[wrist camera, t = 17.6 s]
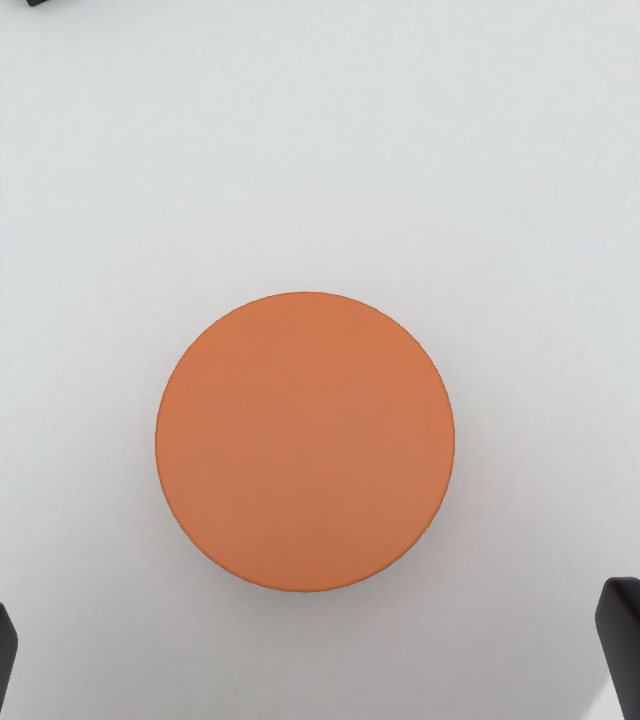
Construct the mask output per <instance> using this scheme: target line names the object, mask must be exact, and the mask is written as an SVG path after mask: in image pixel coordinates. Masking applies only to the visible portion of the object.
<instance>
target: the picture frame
mask: <svg viewBox="0 0 640 720" xmlns="http://www.w3.org/2000/svg"><path fill="white" fill-rule="evenodd" d="M41 1H43V0H27V2H28V4H29V5H30V6H32V5H34V4H36V3H38V2H41Z"/></svg>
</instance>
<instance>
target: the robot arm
mask: <svg viewBox="0 0 640 720" xmlns="http://www.w3.org/2000/svg"><path fill="white" fill-rule="evenodd" d="M595 622H596V627H597V631H598V634H599V638H600V641H601V644H602V648H603V651H604V654H605V657H606V661H607V664H608V667H609V670H610V674H611V677H612V680H613V683H614V687H615V690H616V693H617V697H618V700H619V703H620V706H621V710H622V713H623V716H624V719H625V720H640V580H639V579H637V578H635V577H612V578H609V579H608V580H607V581H606V582H605V584H604V587H603V590H602V593H601V596H600V599H599V603H598V606H597V609H596V613H595ZM17 647H18V637H17V633H16V630H15V628H14V626H13V624H12V622H11V620H10V617H9V615H8V613H7V611H6V609H5V607H4V605H3V604H2V603H1V602H0V712H1V709H2V705H3V701H4V697H5V694H6V690H7V686H8V682H9V679H10V675H11V671H12V668H13V664H14V660H15V656H16V652H17Z"/></svg>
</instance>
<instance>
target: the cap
mask: <svg viewBox="0 0 640 720" xmlns="http://www.w3.org/2000/svg"><path fill="white" fill-rule="evenodd" d="M454 453H455V429H454V421H453V414H452V409H451V405H450V402H449V398H448V394H447V391H446V389H445V386H444V384H443V382H442V379H441V377H440V375H439V373H438V371H437V369H436V368H435V366H434V364H433V362H432V360H431V359H430V357H429V356H428V355H427V353H426V352H425V351H424V349H423V348H422V347H421V345H420V344H419V343H418V342H417V341H416V340H415V339H414V338H413V337H412V336H411V335H410V334H409V333H408V332H407V331H406V330H405V329H404V328H403V327H401V326H400V325H399V324H398V323H396V322H395V321H394V320H393V319H391V318H390V317H388V316H386V315H385V314H383V313H382V312H380V311H378V310H377V309H375V308H373V307H370V306H368V305H366V304H364V303H362V302H359V301H356V300H353V299H350V298H347V297H343V296H339V295H334V294H328V293H321V292H292V293H283V294H278V295H273V296H268V297H265V298H262V299H259V300H256V301H253V302H250V303H248V304H246V305H244V306H241V307H239V308H237V309H235V310H233V311H232V312H230V313H228V314H227V315H225V316H224V317H222V318H221V319H219V320H217V321H216V322H215V323H214V324H213V325H211V326H210V327H209V328H208V329H206V330H205V331H204V332H203V333H202V334H201V335H200V336H199V337H198V338H197V339H196V340H195V341H194V342H193V344H192V345H191V346H190V347H189V348H188V350H187V351H186V352H185V354H184V355H183V356H182V358H181V359H180V361H179V362H178V364H177V366H176V367H175V369H174V371H173V373H172V375H171V376H170V378H169V381H168V383H167V386H166V388H165V391H164V393H163V396H162V399H161V403H160V407H159V411H158V415H157V423H156V432H155V456H156V463H157V470H158V475H159V479H160V482H161V486H162V490H163V493H164V496H165V498H166V500H167V502H168V505H169V507H170V509H171V512H172V513H173V515H174V517H175V518H176V520H177V522H178V523H179V525H180V527H181V528H182V530H183V531H184V532H185V533H186V535H187V536H188V537H189V538H190V540H191V541H192V542H193V543H194V545H195V546H196V547H198V548H199V549H200V550H201V551H202V552H203V553H204V554H205V555H206V556H207V557H208V558H209V559H211V560H212V561H213V562H215V563H216V564H218V565H219V566H220V567H222V568H223V569H225V570H226V571H228V572H230V573H232V574H234V575H236V576H237V577H239V578H241V579H243V580H245V581H248V582H251V583H254V584H257V585H260V586H262V587H266V588H271V589H276V590H281V591H288V592H305V593H306V592H318V591H328V590H332V589H337V588H341V587H346V586H349V585H352V584H354V583H357V582H360V581H362V580H365V579H367V578H369V577H371V576H373V575H375V574H376V573H378V572H380V571H382V570H384V569H385V568H387V567H388V566H390V565H391V564H392V563H394V562H395V561H396V560H398V559H399V558H400V557H402V556H403V555H404V554H405V553H406V552H407V551H408V550H409V549H410V548H411V547H412V546H413V545H414V544H415V543H416V542H417V541H418V539H419V538H420V537H421V536H422V534H423V533H424V532H425V531H426V529H427V528H428V527H429V525H430V523H431V522H432V520H433V518H434V517H435V515H436V513H437V512H438V510H439V508H440V505H441V503H442V501H443V498H444V496H445V494H446V491H447V488H448V484H449V481H450V477H451V473H452V468H453V461H454Z"/></svg>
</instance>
